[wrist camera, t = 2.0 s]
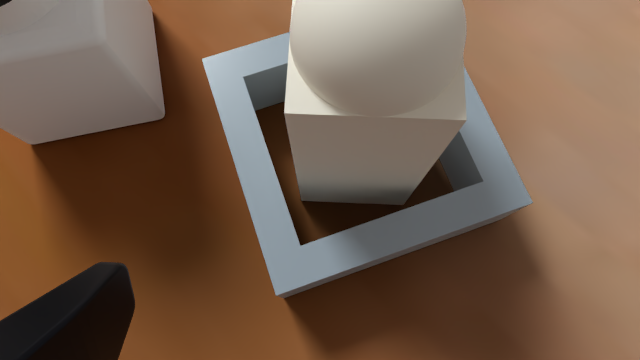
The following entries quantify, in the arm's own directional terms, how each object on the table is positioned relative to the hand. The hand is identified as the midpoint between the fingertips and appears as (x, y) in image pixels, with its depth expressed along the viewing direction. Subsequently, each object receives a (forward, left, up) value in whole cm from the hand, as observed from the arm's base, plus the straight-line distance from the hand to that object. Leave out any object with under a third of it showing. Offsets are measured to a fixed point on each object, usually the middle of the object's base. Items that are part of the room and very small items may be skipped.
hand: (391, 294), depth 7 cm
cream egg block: (+3, +7, -13) cm, 15 cm away
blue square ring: (+3, +7, -13) cm, 15 cm away
